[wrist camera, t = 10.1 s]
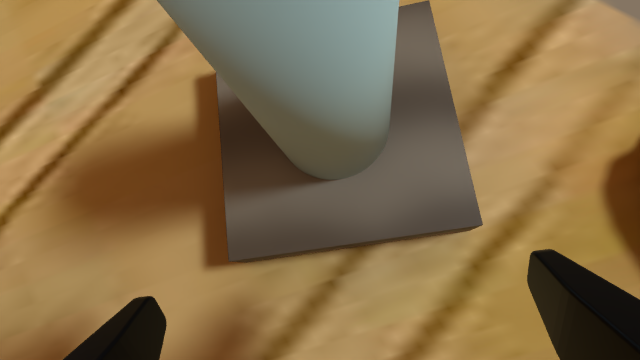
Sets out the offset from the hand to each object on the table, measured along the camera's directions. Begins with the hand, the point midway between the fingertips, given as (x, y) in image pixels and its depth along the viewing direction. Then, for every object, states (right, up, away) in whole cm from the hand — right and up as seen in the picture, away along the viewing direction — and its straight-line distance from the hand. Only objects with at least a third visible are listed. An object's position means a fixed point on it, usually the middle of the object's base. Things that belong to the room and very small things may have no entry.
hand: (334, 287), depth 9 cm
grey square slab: (+1, +5, +13) cm, 13 cm away
